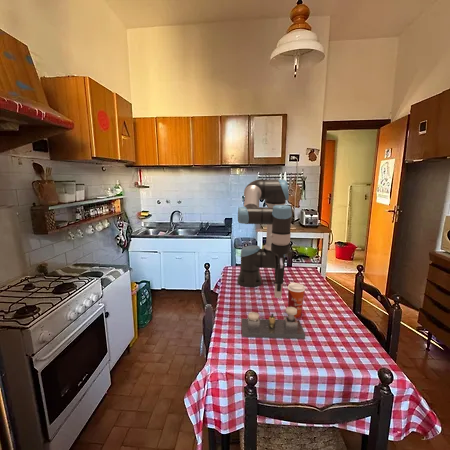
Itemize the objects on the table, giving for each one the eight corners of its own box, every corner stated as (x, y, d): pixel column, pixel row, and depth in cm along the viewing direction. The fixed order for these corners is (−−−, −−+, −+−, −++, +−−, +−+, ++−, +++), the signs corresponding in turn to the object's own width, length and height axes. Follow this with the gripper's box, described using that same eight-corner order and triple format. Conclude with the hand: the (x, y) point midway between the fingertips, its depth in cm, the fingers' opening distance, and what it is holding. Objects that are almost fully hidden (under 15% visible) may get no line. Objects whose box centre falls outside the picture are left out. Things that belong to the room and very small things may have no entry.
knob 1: (247, 321, 118) (248, 311, 117) (258, 322, 118) (258, 312, 117) (248, 327, 114) (248, 317, 113) (259, 327, 113) (259, 317, 113)
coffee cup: (291, 320, 124) (293, 290, 121) (282, 311, 132) (284, 283, 129) (307, 317, 126) (309, 288, 124) (298, 309, 134) (299, 281, 131)
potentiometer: (268, 324, 117) (269, 312, 116) (274, 324, 117) (275, 312, 116) (269, 327, 114) (269, 315, 113) (275, 327, 114) (275, 316, 113)
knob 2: (284, 316, 117) (285, 306, 116) (295, 317, 117) (295, 306, 116) (286, 322, 112) (287, 311, 112) (297, 322, 112) (298, 312, 111)
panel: (241, 322, 122) (241, 311, 121) (298, 324, 121) (299, 313, 120) (242, 336, 111) (242, 325, 110) (305, 338, 110) (305, 327, 109)
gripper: (269, 239, 115) (267, 290, 119) (272, 246, 103) (270, 303, 107) (287, 239, 115) (284, 291, 119) (292, 247, 102) (289, 304, 106)
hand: (277, 297), depth 113 cm, fingers closed
